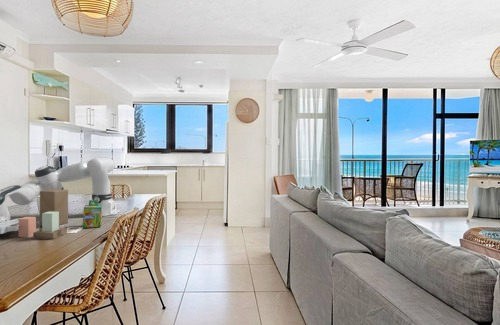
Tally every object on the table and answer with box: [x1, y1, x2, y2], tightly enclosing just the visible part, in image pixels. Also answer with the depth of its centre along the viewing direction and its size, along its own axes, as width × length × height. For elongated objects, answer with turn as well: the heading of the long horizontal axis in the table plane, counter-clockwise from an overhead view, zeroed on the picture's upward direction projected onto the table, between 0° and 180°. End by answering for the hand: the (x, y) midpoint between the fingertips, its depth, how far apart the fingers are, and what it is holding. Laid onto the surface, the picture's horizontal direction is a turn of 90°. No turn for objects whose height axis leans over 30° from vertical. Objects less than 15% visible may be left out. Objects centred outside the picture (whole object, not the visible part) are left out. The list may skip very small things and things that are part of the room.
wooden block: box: [39, 189, 69, 227], centre depth 175 cm, size 10×10×20 cm
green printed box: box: [82, 199, 103, 229], centre depth 172 cm, size 9×9×15 cm
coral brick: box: [18, 216, 37, 238], centre depth 151 cm, size 5×5×9 cm
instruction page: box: [66, 226, 84, 234], centre depth 162 cm, size 12×9×1 cm
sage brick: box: [41, 211, 60, 232], centre depth 150 cm, size 5×5×9 cm
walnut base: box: [33, 227, 68, 240], centre depth 150 cm, size 10×10×3 cm
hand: (26, 226), depth 150 cm, fingers open, 8 cm apart
